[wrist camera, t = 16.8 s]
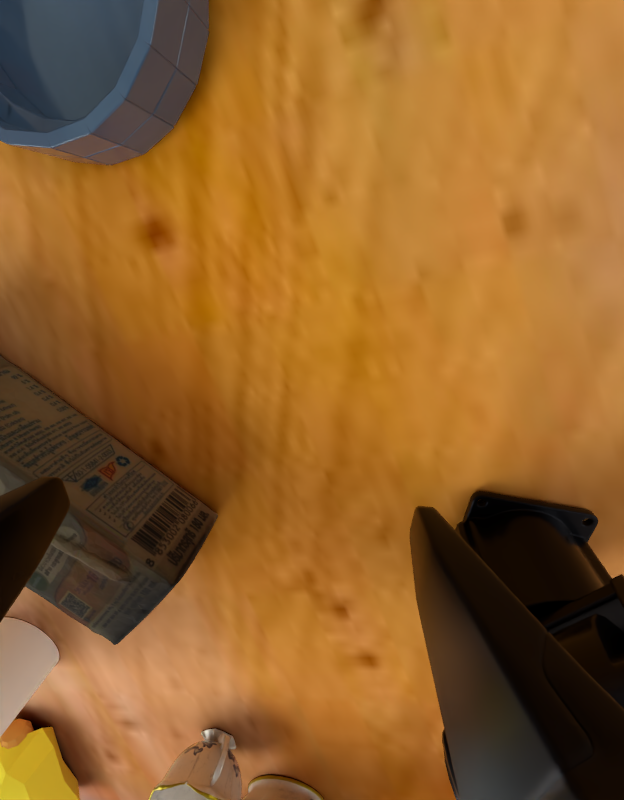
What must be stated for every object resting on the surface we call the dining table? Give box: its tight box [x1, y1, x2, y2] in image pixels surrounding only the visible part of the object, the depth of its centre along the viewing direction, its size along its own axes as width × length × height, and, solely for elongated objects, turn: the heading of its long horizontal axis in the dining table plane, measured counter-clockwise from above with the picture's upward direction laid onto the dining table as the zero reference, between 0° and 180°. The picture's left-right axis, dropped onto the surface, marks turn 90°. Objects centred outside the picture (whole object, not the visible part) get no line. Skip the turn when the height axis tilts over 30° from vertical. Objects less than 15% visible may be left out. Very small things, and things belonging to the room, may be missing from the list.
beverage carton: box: [0, 355, 218, 645], centre depth 22 cm, size 8×19×7 cm, turn 52°
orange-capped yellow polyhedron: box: [0, 719, 80, 800], centre depth 41 cm, size 18×7×8 cm
